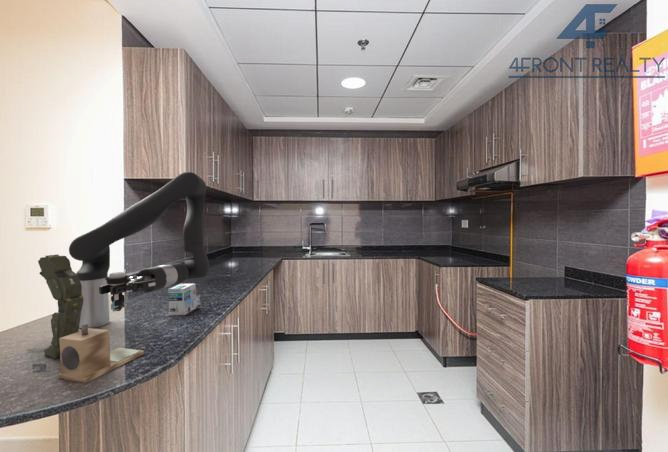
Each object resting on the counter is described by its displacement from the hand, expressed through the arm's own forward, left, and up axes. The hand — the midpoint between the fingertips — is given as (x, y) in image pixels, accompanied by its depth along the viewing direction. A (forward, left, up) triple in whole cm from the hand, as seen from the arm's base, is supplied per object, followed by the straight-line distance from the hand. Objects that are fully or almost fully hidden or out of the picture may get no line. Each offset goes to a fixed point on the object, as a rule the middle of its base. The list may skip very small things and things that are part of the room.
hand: (106, 290), depth 84 cm
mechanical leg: (-19, +2, -20) cm, 28 cm away
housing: (0, -1, -20) cm, 20 cm away
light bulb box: (-15, +44, -20) cm, 50 cm away
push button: (0, +3, -6) cm, 7 cm away
